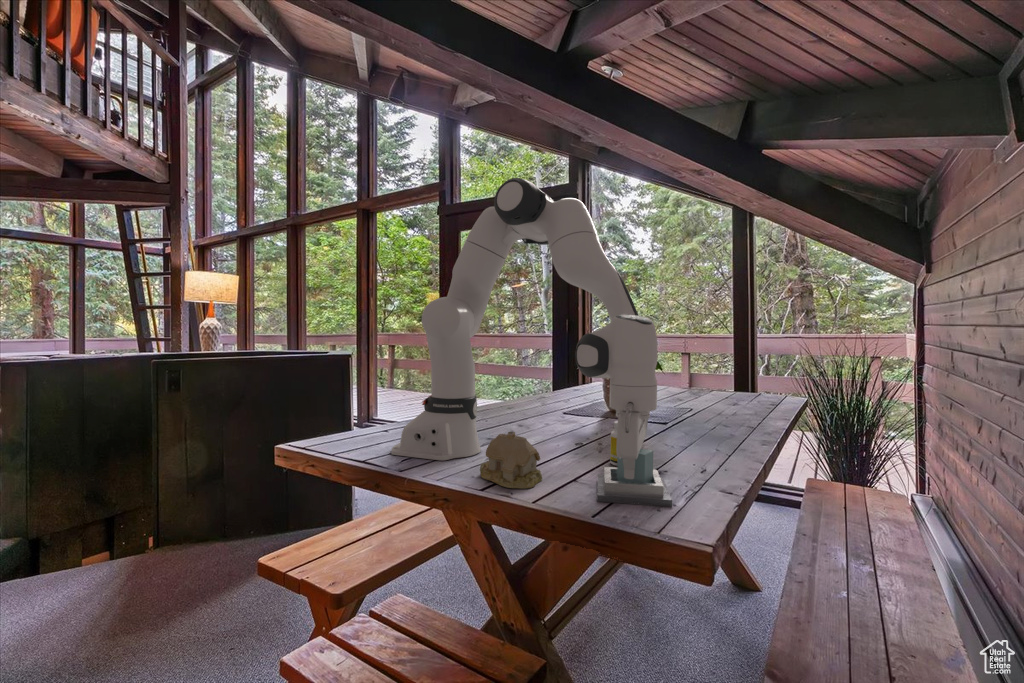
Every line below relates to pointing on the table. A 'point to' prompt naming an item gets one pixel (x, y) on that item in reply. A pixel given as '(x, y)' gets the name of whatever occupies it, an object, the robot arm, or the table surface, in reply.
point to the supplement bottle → (613, 445)
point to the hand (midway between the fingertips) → (632, 471)
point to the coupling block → (638, 468)
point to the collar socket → (632, 490)
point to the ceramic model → (511, 462)
